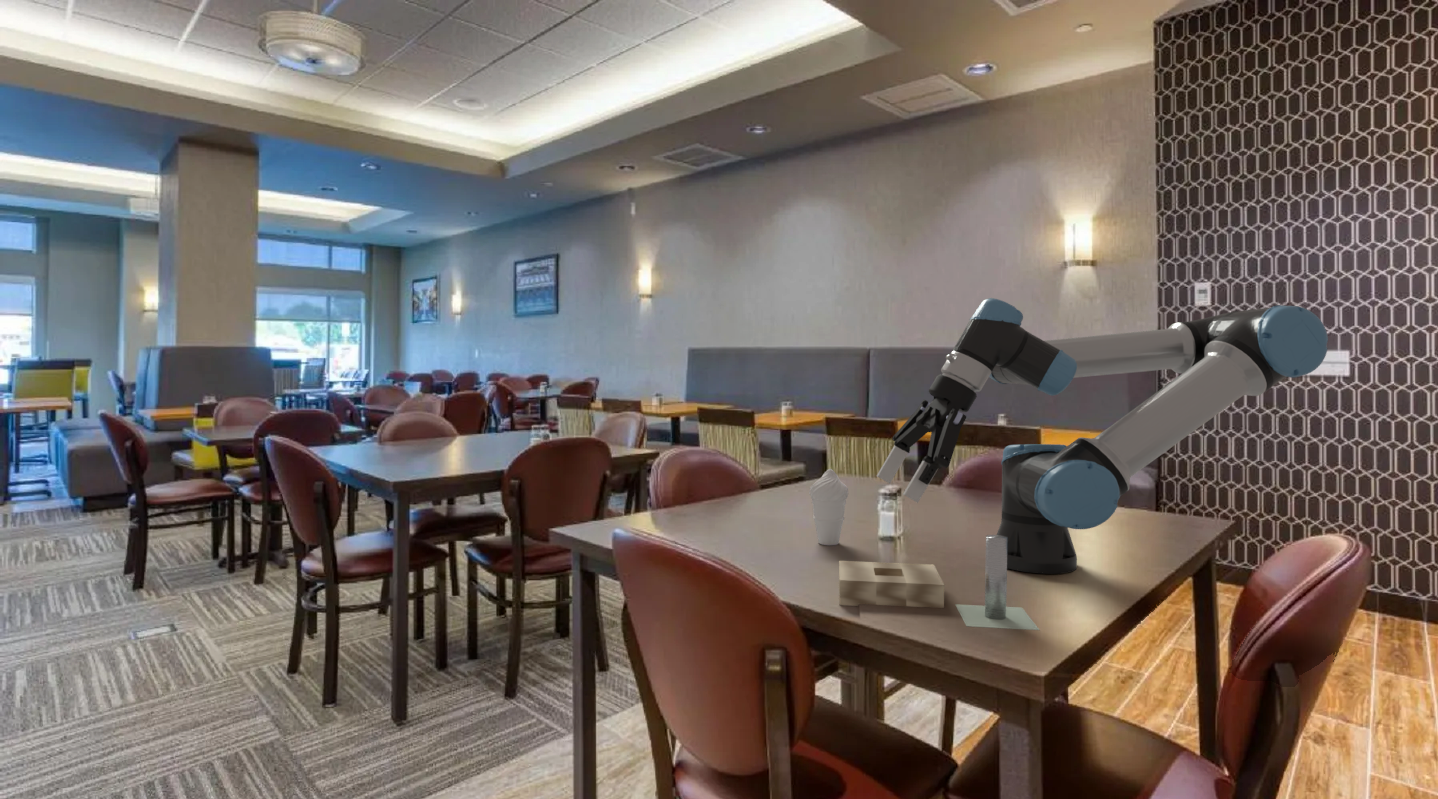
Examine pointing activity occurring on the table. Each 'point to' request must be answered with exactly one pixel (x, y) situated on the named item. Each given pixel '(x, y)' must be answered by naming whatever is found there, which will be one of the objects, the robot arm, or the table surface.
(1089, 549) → the table surface
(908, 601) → the block
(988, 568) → the peg
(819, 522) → the soft serve ice cream cone
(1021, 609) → the mat
